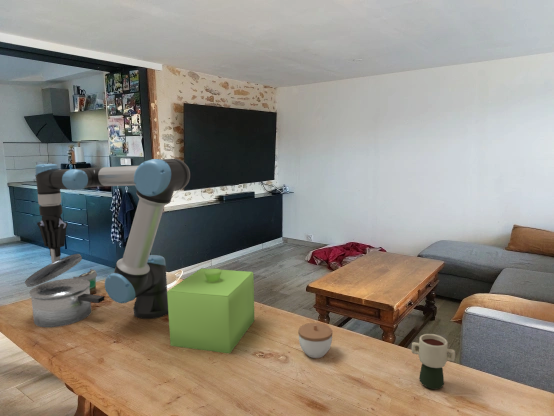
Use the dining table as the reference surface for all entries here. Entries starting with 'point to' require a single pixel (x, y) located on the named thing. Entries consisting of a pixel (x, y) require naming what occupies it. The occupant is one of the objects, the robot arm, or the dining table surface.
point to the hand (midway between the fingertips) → (56, 264)
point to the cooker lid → (53, 270)
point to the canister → (211, 309)
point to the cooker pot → (62, 302)
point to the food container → (90, 280)
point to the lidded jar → (315, 339)
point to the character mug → (432, 359)
